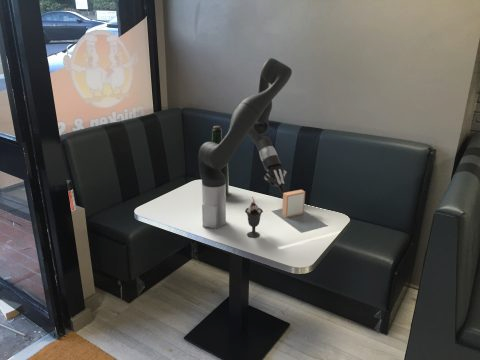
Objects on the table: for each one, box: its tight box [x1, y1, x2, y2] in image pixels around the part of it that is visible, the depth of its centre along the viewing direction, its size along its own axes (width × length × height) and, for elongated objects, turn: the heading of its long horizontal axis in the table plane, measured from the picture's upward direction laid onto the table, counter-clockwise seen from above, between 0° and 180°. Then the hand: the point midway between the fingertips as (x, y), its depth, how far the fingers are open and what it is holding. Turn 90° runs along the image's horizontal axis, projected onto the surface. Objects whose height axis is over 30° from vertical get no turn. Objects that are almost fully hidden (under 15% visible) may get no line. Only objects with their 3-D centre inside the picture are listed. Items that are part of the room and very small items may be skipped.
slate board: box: [271, 208, 329, 234], centre depth 164 cm, size 22×13×1 cm, turn 27°
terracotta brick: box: [281, 189, 306, 218], centre depth 165 cm, size 3×9×10 cm, turn 117°
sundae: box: [244, 196, 264, 239], centre depth 149 cm, size 7×7×15 cm
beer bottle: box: [211, 125, 230, 197], centre depth 183 cm, size 10×10×33 cm
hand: (283, 193), depth 172 cm, fingers closed
